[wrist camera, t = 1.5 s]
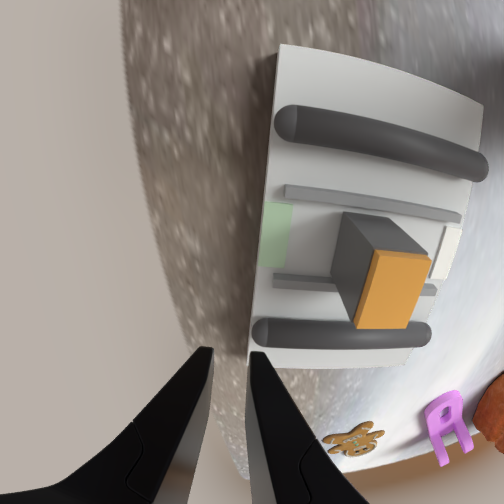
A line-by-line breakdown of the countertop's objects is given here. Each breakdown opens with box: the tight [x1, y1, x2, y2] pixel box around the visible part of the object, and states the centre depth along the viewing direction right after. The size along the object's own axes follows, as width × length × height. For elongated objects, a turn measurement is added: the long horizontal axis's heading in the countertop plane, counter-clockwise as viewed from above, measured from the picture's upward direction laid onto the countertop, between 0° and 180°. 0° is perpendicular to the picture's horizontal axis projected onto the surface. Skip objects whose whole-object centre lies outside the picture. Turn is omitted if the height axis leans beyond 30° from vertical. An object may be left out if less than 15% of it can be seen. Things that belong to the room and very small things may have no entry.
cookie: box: [323, 421, 385, 457], centre depth 32 cm, size 8×1×10 cm
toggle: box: [330, 211, 432, 329], centre depth 15 cm, size 3×4×6 cm
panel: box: [247, 44, 489, 369], centre depth 17 cm, size 14×22×4 cm, turn 175°
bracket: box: [424, 390, 474, 467], centre depth 27 cm, size 13×6×7 cm, turn 31°
